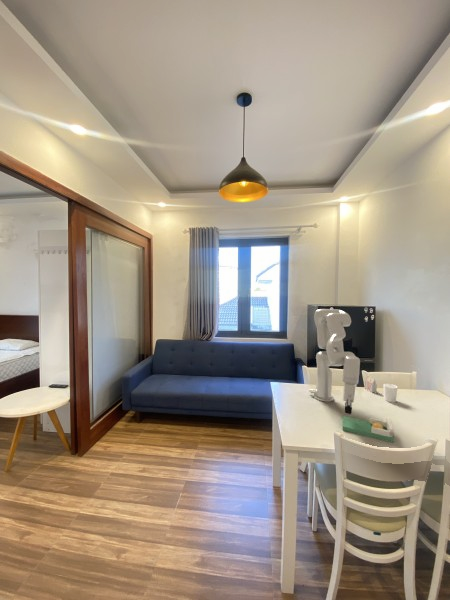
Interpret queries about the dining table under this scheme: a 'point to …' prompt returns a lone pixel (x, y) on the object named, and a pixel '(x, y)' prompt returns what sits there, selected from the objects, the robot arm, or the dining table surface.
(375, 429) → the green
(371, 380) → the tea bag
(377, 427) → the ball
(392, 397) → the white cup
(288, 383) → the dining table surface
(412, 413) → the dining table surface
